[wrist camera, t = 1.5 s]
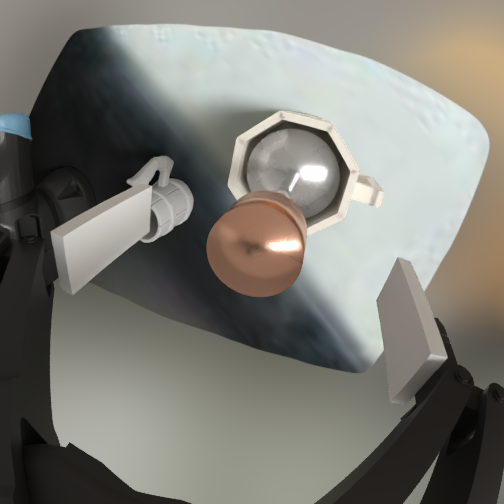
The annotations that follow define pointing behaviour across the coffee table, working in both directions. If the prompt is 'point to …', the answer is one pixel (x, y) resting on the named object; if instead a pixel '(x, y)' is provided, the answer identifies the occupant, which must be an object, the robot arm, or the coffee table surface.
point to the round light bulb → (273, 213)
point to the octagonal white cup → (350, 178)
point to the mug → (164, 197)
